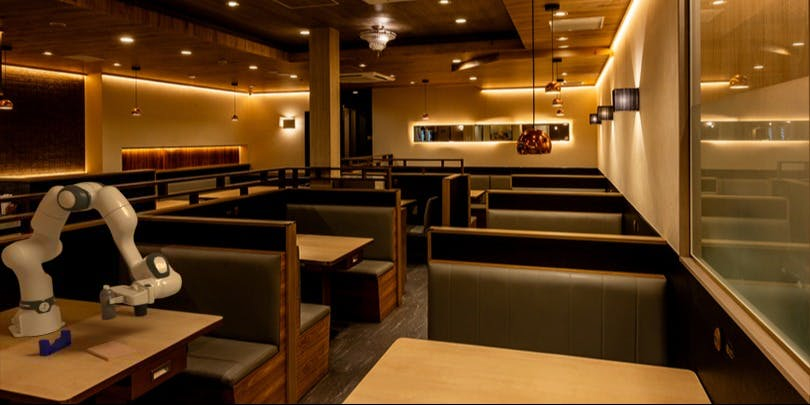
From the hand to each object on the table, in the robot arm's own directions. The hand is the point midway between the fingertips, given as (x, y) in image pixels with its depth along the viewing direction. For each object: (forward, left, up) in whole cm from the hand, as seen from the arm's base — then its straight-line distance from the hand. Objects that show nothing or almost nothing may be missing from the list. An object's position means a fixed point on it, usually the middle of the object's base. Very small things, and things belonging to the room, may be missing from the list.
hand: (104, 300), depth 206 cm
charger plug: (0, +1, -7) cm, 7 cm away
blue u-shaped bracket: (-20, -10, -20) cm, 30 cm away
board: (0, +1, -20) cm, 20 cm away
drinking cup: (-33, +31, -20) cm, 49 cm away
